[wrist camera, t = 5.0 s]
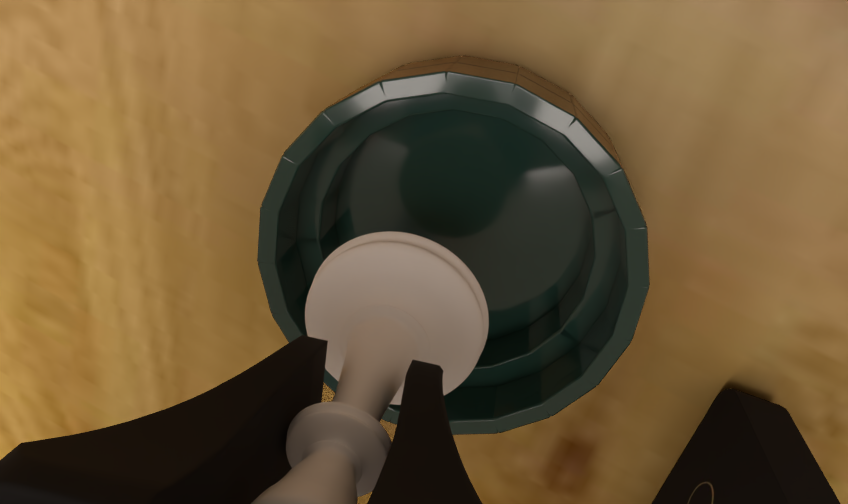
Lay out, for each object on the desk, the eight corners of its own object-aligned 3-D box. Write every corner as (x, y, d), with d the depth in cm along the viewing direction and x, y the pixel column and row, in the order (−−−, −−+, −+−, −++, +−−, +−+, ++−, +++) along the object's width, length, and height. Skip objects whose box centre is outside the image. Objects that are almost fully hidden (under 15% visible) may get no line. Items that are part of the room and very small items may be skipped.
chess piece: (281, 337, 19) (35, 673, 10) (358, 195, 17) (138, 453, 8) (432, 422, 19) (328, 828, 10) (524, 293, 17) (502, 655, 8)
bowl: (582, 391, 26) (590, 470, 22) (294, 327, 27) (249, 391, 23) (673, 90, 21) (705, 117, 17) (319, 27, 22) (269, 38, 18)
